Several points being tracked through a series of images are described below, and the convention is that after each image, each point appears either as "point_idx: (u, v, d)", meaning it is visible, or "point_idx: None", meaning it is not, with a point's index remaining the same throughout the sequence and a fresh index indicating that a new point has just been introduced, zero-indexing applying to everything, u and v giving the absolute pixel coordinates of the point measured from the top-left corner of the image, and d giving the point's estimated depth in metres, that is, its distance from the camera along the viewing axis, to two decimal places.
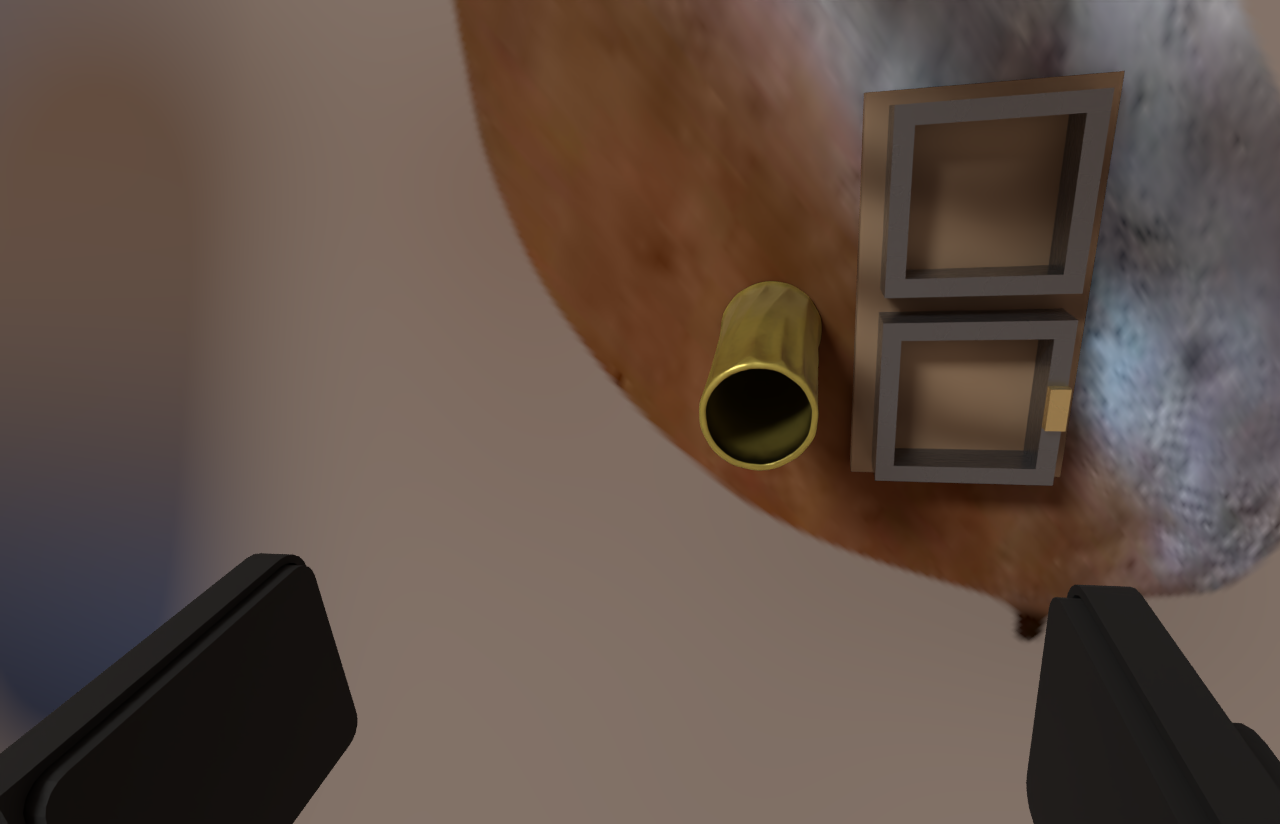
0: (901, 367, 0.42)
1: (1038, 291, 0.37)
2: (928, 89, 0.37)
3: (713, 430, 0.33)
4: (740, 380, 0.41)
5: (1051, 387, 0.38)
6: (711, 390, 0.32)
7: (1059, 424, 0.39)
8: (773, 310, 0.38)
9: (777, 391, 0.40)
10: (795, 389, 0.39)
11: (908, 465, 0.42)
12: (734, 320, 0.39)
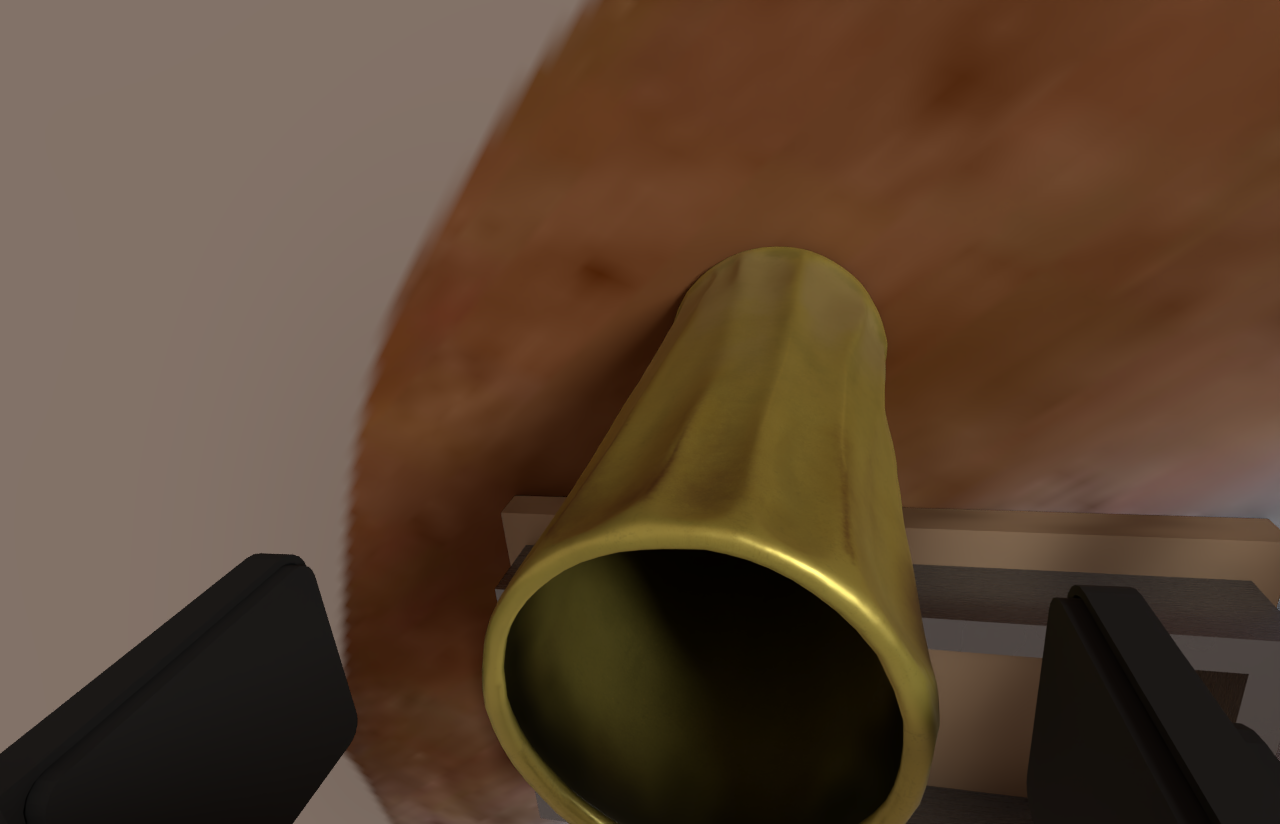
0: None
1: None
2: None
3: None
4: None
5: None
6: (806, 584, 0.07)
7: None
8: None
9: None
10: None
11: None
12: (860, 352, 0.15)
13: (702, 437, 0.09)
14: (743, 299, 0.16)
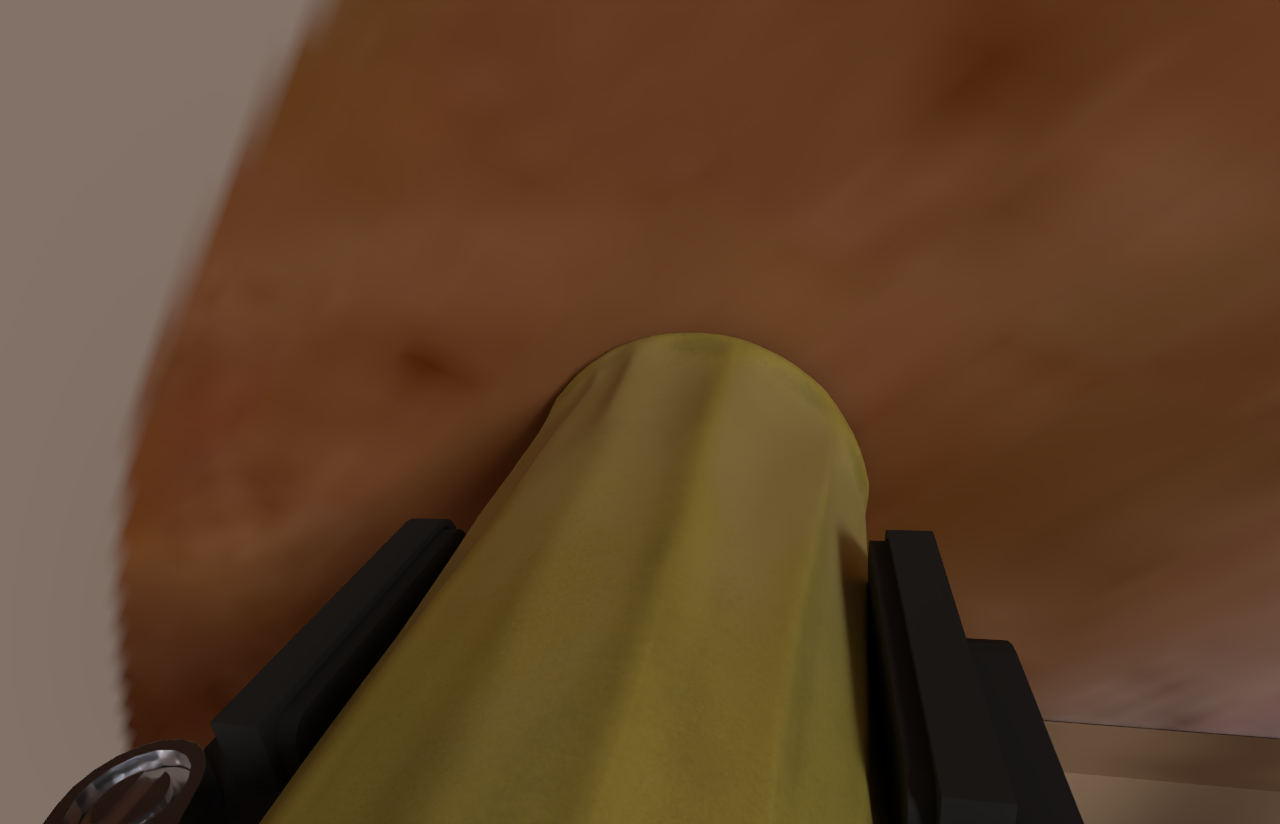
0: None
1: None
2: None
3: None
4: None
5: None
6: None
7: None
8: None
9: None
10: None
11: None
12: (818, 598, 0.07)
13: None
14: (597, 473, 0.08)
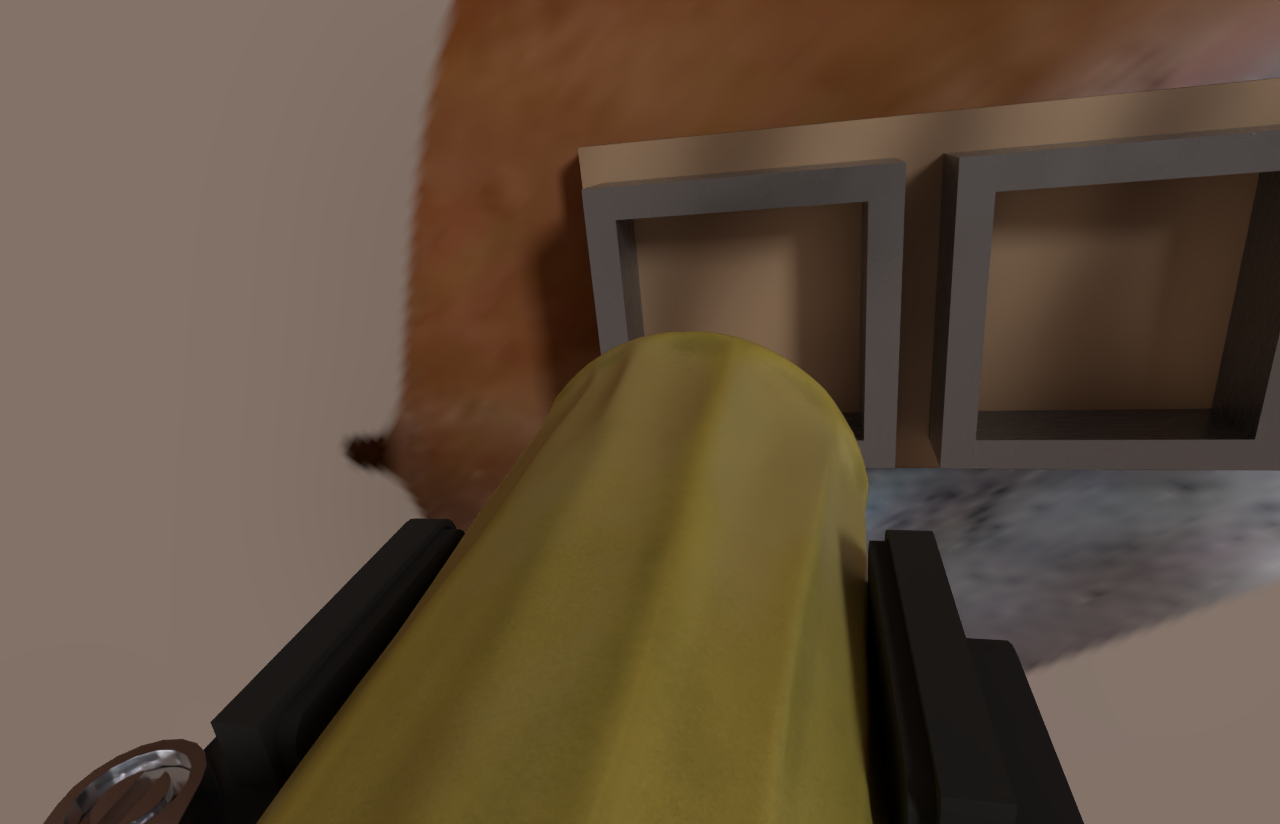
0: (787, 212, 0.24)
1: (949, 409, 0.23)
2: None
3: None
4: None
5: None
6: None
7: None
8: None
9: None
10: None
11: (618, 246, 0.23)
12: (818, 597, 0.07)
13: None
14: (597, 472, 0.08)
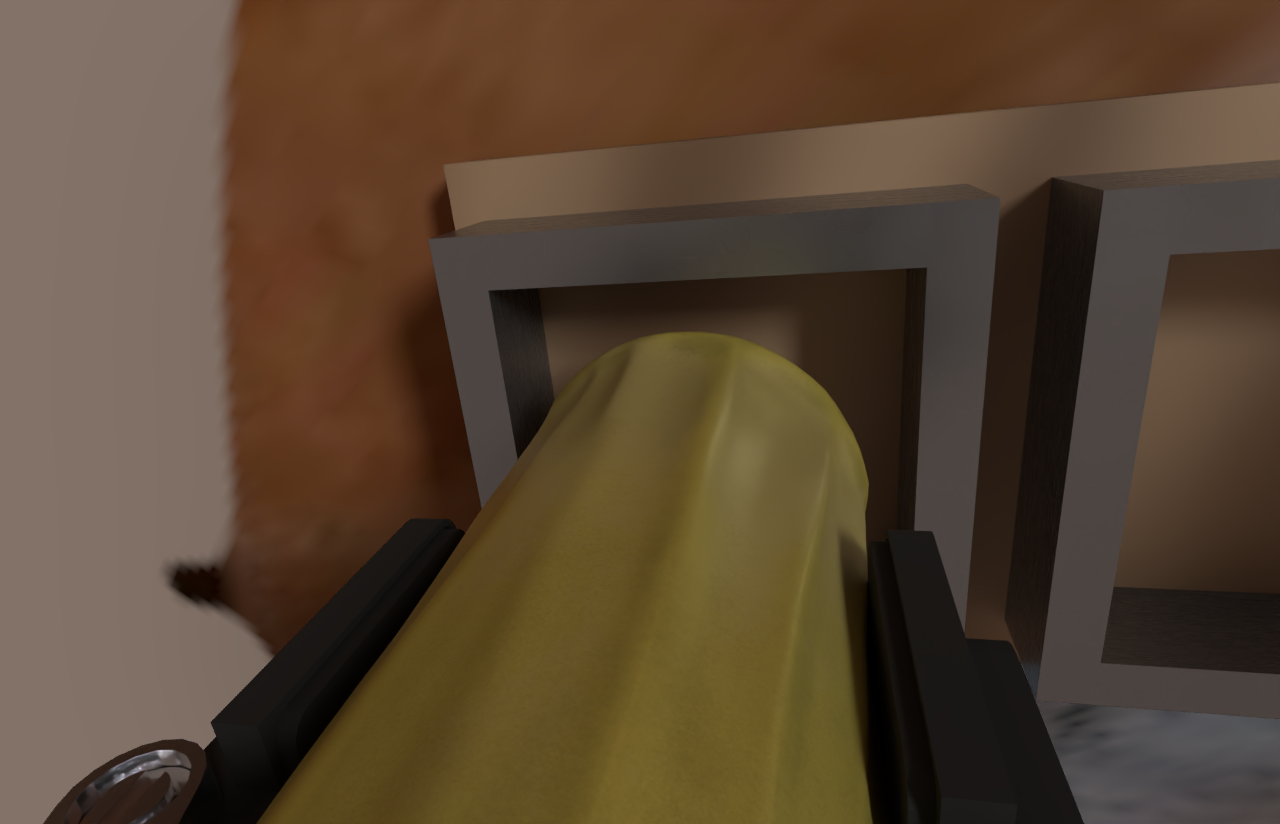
0: None
1: (1057, 613, 0.13)
2: None
3: None
4: None
5: None
6: None
7: None
8: None
9: None
10: None
11: (496, 332, 0.14)
12: (818, 597, 0.07)
13: None
14: (596, 472, 0.08)
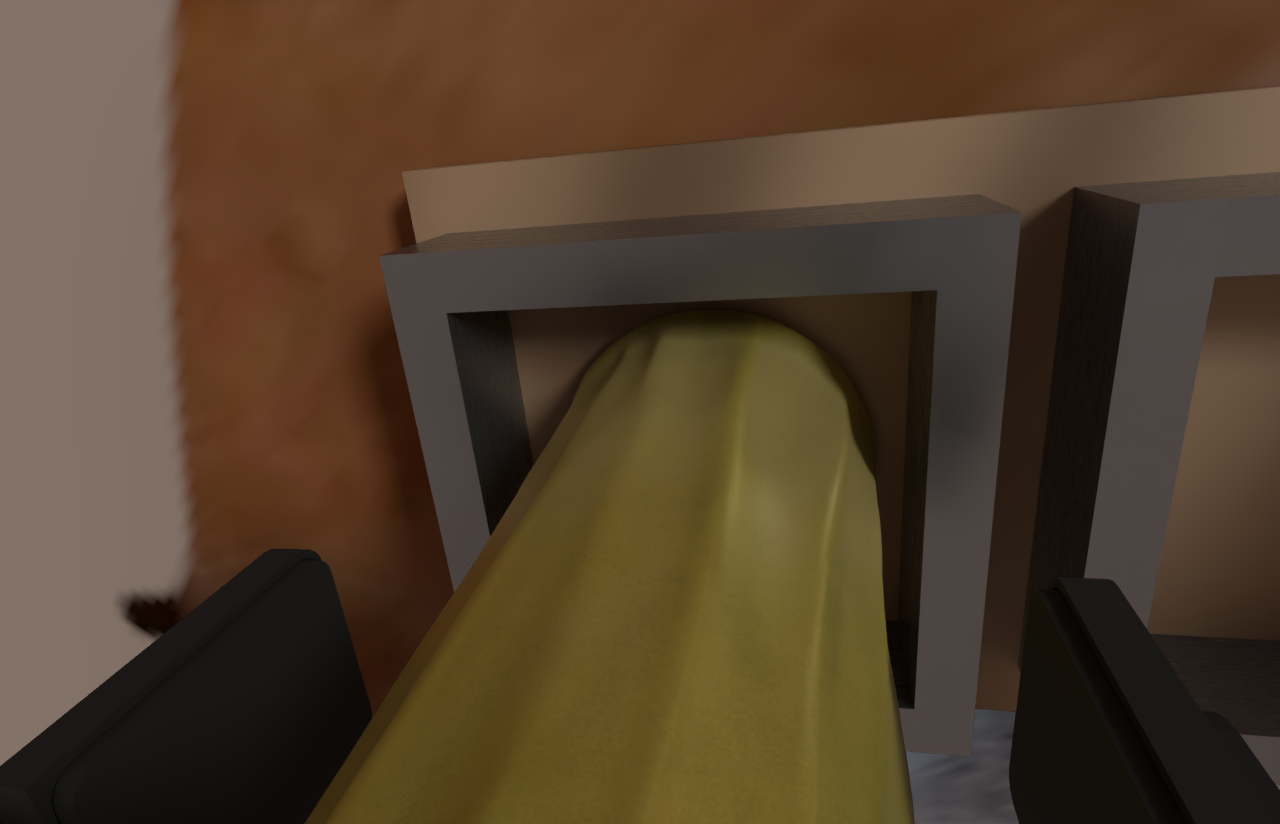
0: None
1: None
2: None
3: None
4: None
5: None
6: None
7: None
8: None
9: None
10: None
11: (456, 359, 0.12)
12: (842, 543, 0.08)
13: None
14: (643, 434, 0.09)
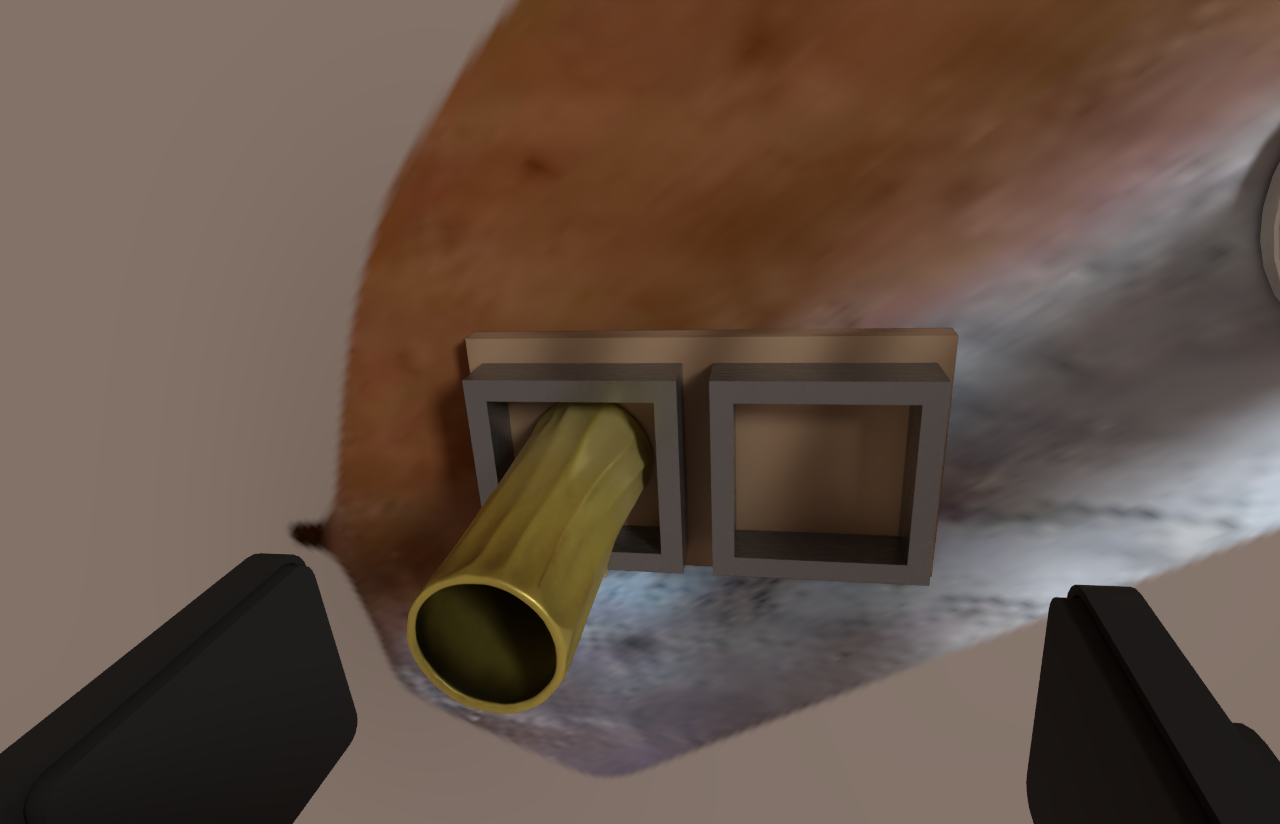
0: None
1: (715, 536, 0.33)
2: None
3: None
4: None
5: None
6: (518, 596, 0.21)
7: None
8: (622, 524, 0.30)
9: None
10: None
11: (489, 417, 0.33)
12: (608, 477, 0.29)
13: (499, 537, 0.23)
14: (553, 444, 0.30)
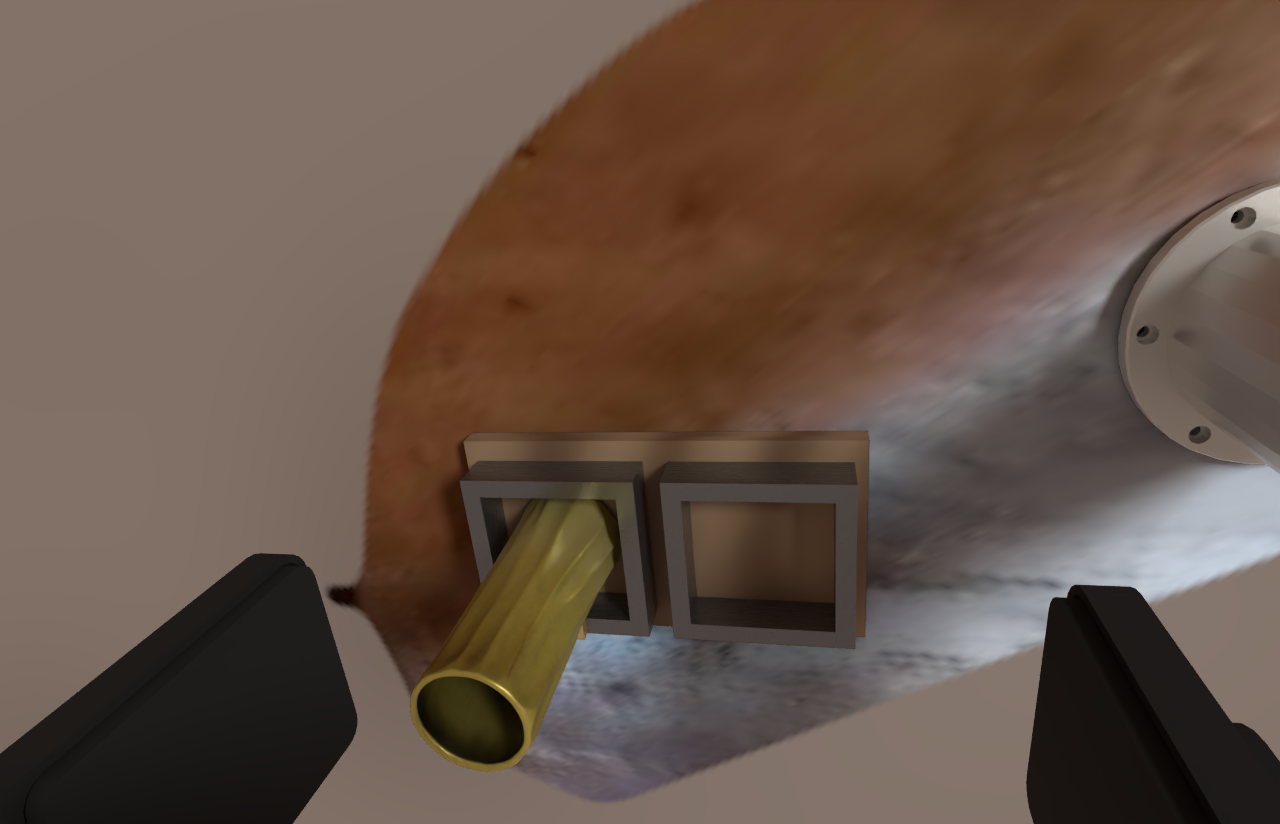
0: None
1: (674, 607, 0.39)
2: (866, 495, 0.37)
3: None
4: None
5: (584, 622, 0.40)
6: (492, 686, 0.28)
7: None
8: (590, 604, 0.36)
9: None
10: None
11: (482, 510, 0.39)
12: (576, 567, 0.35)
13: (481, 633, 0.30)
14: (532, 539, 0.36)
